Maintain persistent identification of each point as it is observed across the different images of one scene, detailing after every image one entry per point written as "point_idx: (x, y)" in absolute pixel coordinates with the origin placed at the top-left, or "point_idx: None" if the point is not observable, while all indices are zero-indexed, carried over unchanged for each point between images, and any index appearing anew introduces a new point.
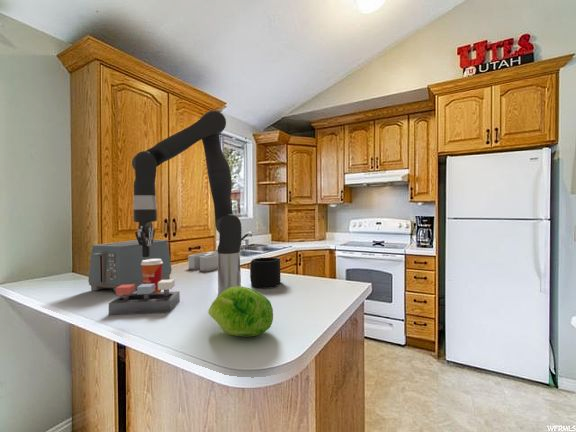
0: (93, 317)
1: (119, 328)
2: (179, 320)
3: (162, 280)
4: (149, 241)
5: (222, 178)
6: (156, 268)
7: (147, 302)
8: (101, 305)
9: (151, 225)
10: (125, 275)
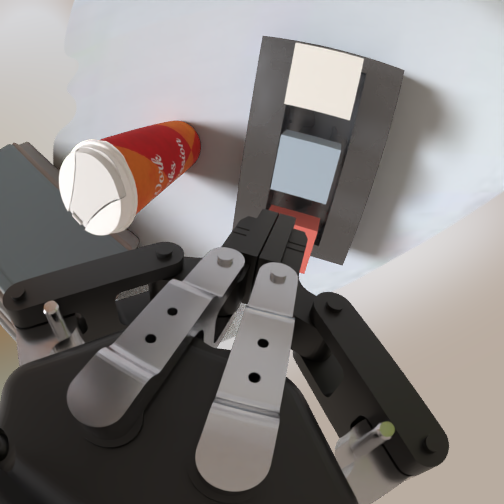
0: (343, 276)
1: (466, 212)
2: (478, 60)
3: (302, 99)
4: (227, 288)
5: None
6: (134, 155)
7: (382, 149)
8: None
9: (37, 418)
10: (98, 255)
